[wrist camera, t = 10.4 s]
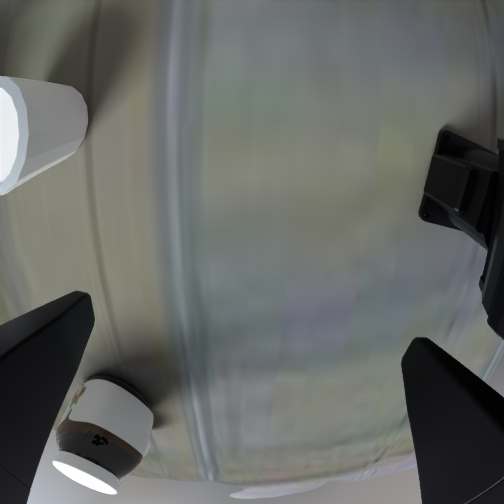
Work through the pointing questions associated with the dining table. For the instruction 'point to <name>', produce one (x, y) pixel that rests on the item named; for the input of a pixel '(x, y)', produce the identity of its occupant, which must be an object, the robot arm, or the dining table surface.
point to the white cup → (37, 127)
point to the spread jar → (103, 434)
